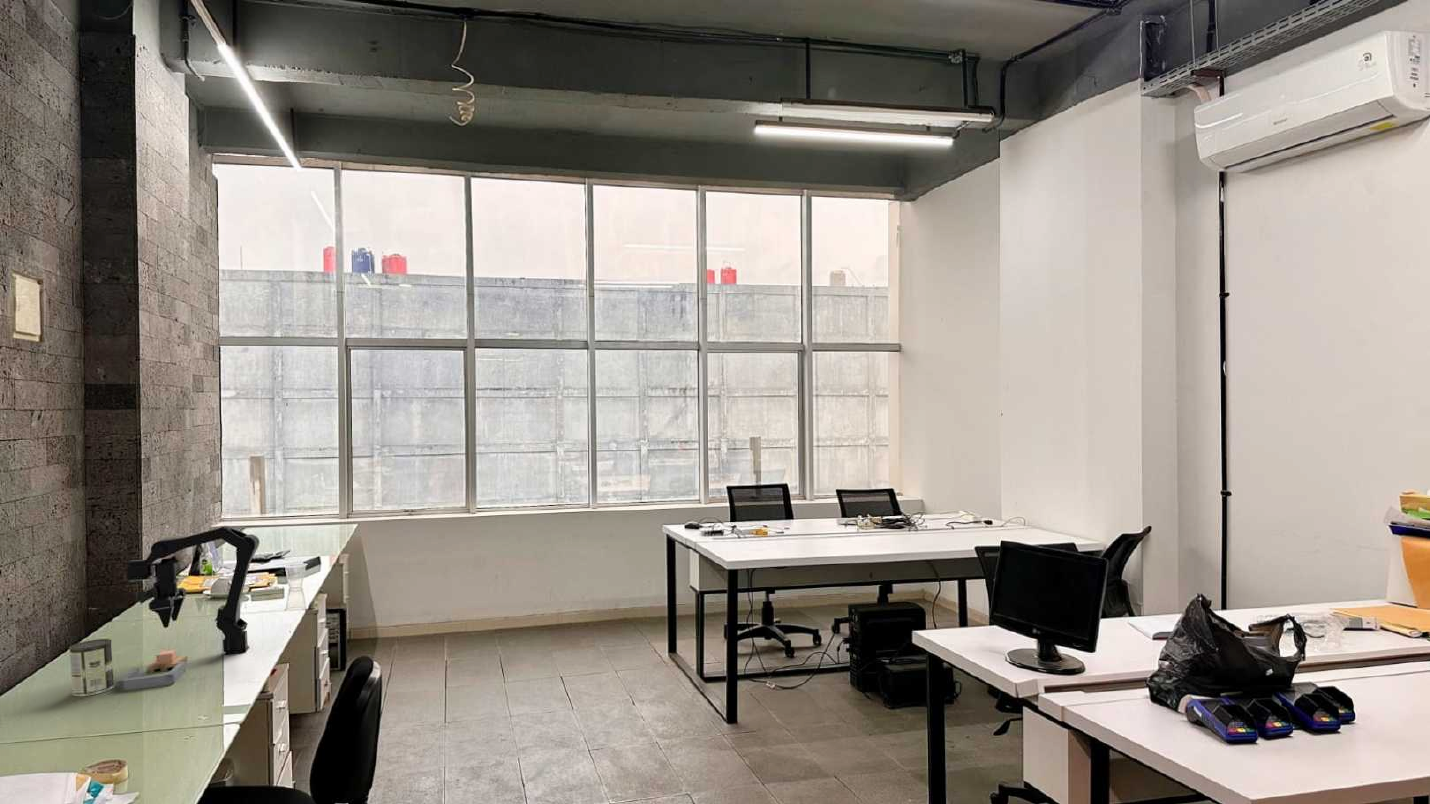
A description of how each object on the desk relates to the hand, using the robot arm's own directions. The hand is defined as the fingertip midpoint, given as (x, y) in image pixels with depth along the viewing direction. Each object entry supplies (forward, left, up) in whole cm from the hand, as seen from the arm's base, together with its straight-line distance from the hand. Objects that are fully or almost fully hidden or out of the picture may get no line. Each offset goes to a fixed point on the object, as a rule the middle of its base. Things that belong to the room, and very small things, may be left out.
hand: (170, 623), depth 289 cm
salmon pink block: (-1, +10, -10) cm, 14 cm away
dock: (-1, +23, -12) cm, 26 cm away
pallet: (-1, +9, -12) cm, 15 cm away
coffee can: (+14, +26, -12) cm, 32 cm away
